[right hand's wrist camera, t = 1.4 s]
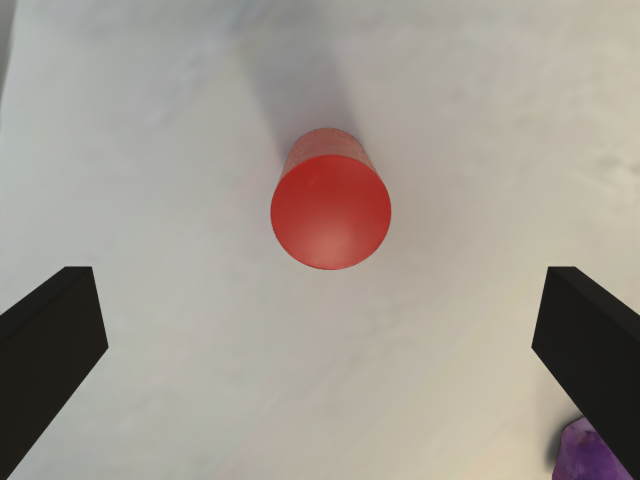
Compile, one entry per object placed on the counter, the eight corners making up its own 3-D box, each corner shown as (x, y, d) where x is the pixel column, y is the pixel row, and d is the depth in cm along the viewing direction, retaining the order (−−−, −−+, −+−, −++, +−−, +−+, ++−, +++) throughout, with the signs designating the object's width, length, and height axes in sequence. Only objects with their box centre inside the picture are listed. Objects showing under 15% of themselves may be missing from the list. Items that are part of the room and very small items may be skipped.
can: (382, 183, 31) (412, 234, 21) (313, 222, 32) (310, 289, 22) (341, 111, 30) (354, 130, 19) (270, 155, 31) (246, 195, 20)
